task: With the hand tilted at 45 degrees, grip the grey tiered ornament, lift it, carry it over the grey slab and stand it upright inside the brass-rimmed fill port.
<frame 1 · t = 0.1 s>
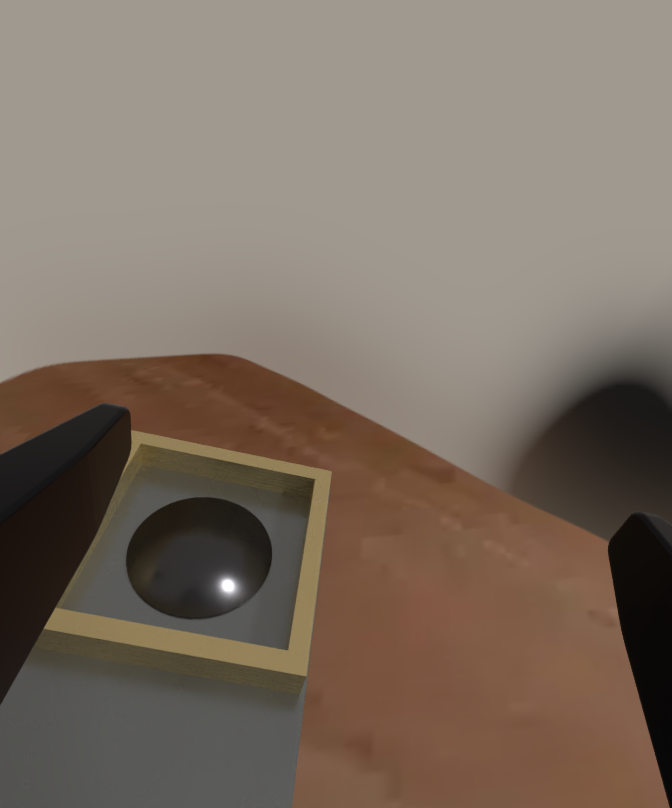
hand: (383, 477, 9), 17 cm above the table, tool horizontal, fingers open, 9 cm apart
grey slab: (128, 713, 20), on the table
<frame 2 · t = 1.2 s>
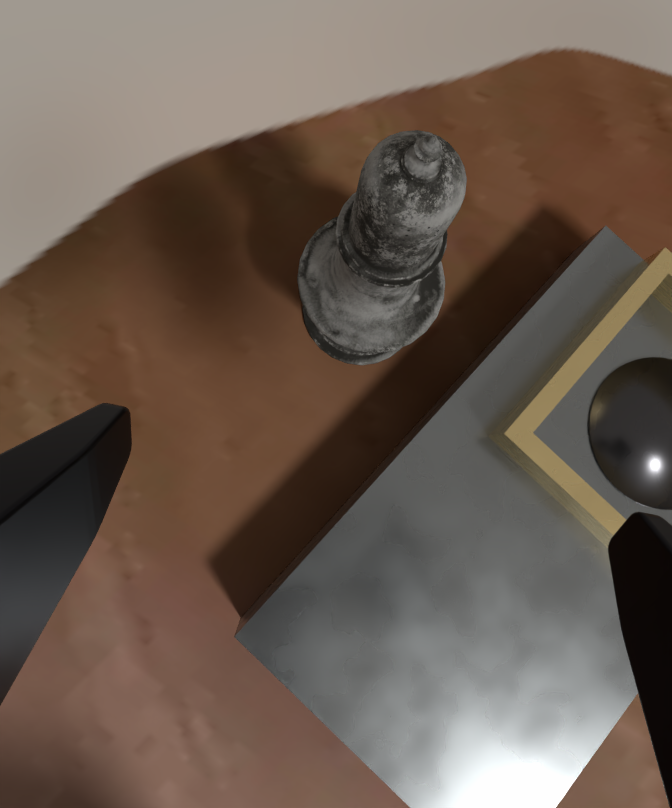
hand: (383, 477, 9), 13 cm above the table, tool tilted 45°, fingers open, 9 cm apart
grey slab: (527, 518, 23), on the table
grey tiered ornament: (359, 310, 24), on the table
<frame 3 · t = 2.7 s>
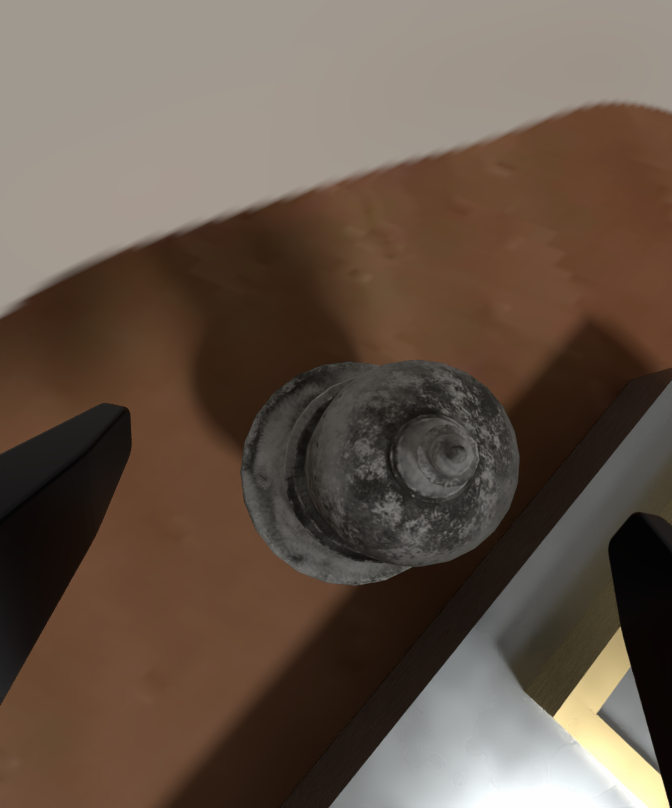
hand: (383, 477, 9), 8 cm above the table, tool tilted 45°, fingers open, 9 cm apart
grey slab: (574, 772, 16), on the table
grey tiered ornament: (338, 472, 17), on the table
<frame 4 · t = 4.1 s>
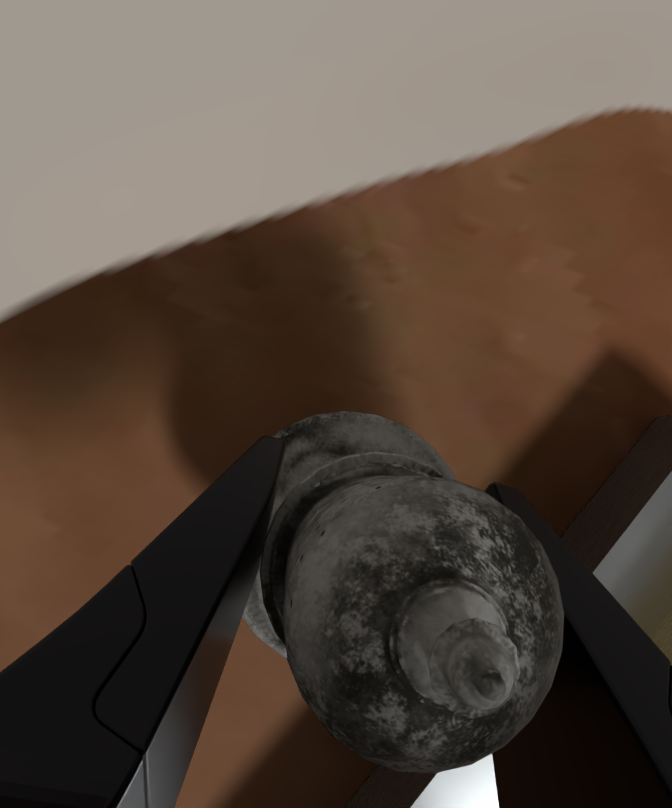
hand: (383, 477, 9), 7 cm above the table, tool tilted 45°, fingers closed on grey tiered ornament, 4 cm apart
grey tiered ornament: (333, 522, 15), on the table, touching gripper
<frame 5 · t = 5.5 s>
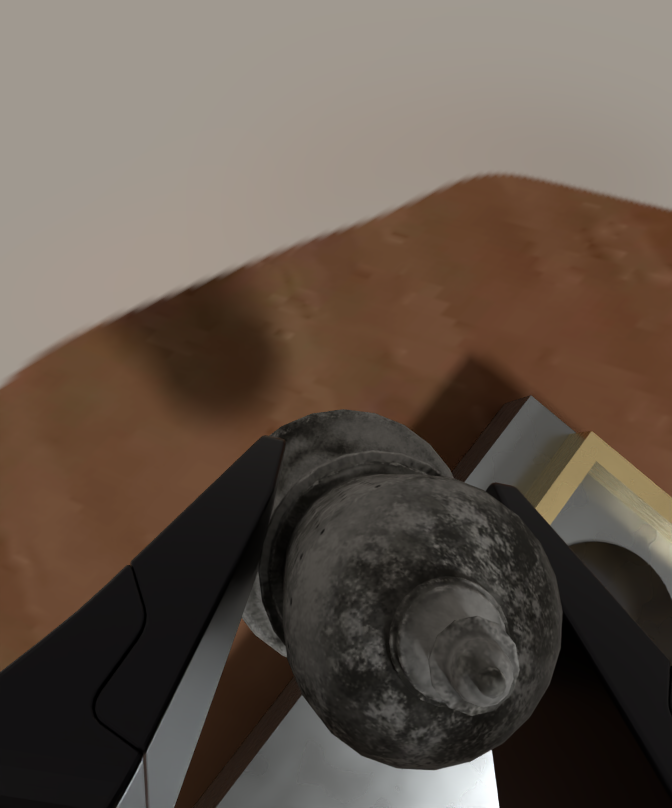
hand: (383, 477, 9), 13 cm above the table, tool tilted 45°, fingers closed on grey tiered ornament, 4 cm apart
grey slab: (464, 710, 21), on the table
grey tiered ornament: (331, 520, 15), point 6 cm above the table, touching gripper
when the fingers open (10 cm above the table, at t = 7.4 s): grey tiered ornament stays where it is, resting on grey slab.
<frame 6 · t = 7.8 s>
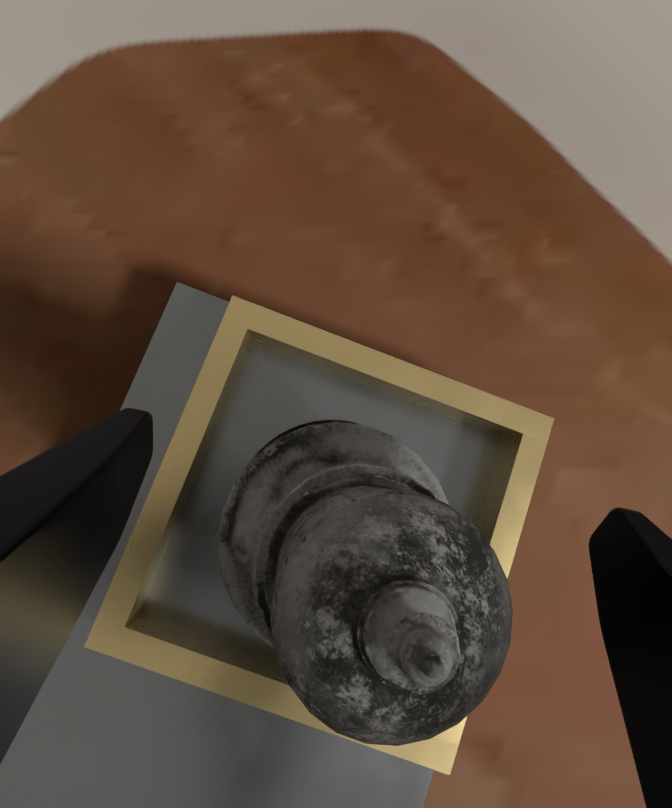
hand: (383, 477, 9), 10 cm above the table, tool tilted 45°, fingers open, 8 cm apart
grey slab: (239, 669, 18), on the table
grey tiered ornament: (327, 525, 16), point 2 cm above the table, touching grey slab
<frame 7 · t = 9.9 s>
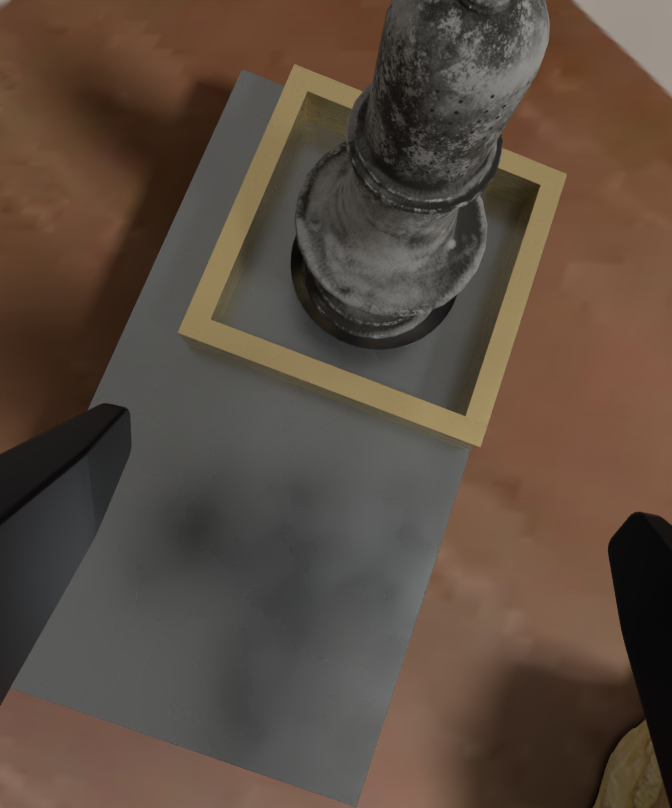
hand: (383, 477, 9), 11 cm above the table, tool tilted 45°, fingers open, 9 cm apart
grey slab: (293, 413, 20), on the table
grey tiered ornament: (373, 271, 19), point 2 cm above the table, touching grey slab
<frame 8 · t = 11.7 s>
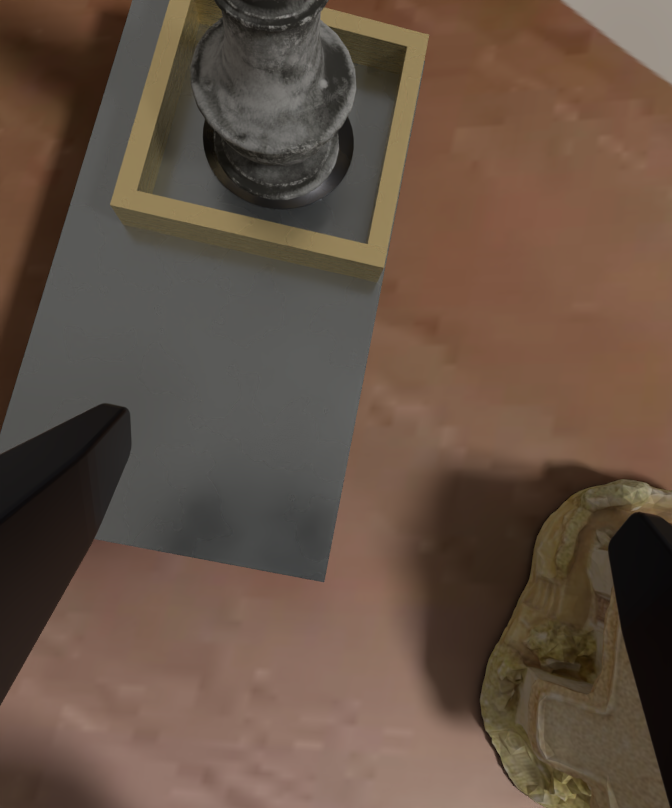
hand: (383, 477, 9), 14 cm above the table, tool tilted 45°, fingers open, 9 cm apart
grey slab: (230, 286, 23), on the table
grey tiered ornament: (277, 144, 22), point 2 cm above the table, touching grey slab
ceramic model: (604, 636, 23), on the table
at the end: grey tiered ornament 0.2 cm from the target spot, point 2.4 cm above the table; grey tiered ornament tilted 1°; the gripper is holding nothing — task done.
